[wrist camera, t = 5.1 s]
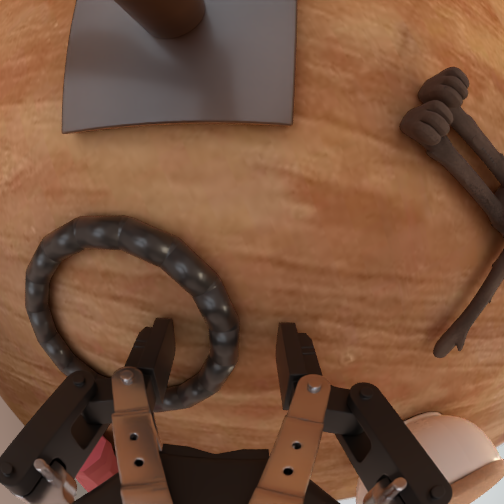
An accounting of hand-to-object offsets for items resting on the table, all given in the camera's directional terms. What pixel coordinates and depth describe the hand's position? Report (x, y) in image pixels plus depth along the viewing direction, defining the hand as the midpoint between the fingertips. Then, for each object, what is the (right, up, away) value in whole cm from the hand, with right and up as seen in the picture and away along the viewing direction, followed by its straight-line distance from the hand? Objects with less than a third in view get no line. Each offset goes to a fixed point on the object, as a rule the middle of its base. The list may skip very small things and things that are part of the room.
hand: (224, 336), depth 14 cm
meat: (-12, -12, +5) cm, 18 cm away
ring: (-5, 0, 0) cm, 5 cm away
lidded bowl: (+15, -12, +6) cm, 20 cm away
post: (-2, +13, -5) cm, 14 cm away
